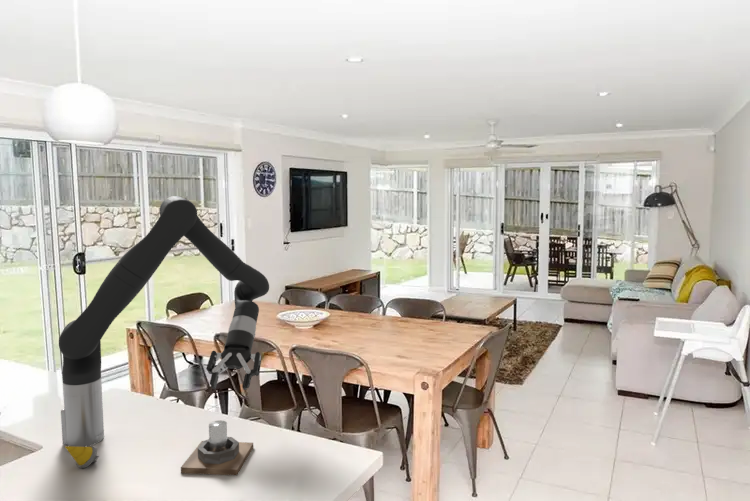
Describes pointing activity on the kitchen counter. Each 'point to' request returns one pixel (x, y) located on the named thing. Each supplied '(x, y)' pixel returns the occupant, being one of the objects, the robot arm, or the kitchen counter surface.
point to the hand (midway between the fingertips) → (228, 388)
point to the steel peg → (217, 436)
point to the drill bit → (83, 455)
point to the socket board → (218, 459)
